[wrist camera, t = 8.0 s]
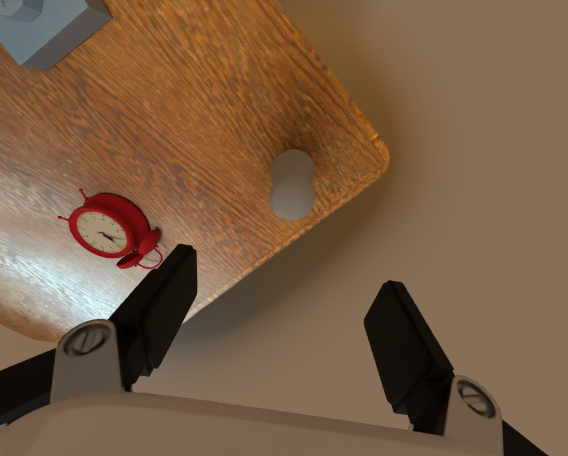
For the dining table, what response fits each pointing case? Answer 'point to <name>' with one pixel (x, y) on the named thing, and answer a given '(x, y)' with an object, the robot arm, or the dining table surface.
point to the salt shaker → (292, 185)
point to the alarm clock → (113, 229)
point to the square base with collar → (48, 28)
